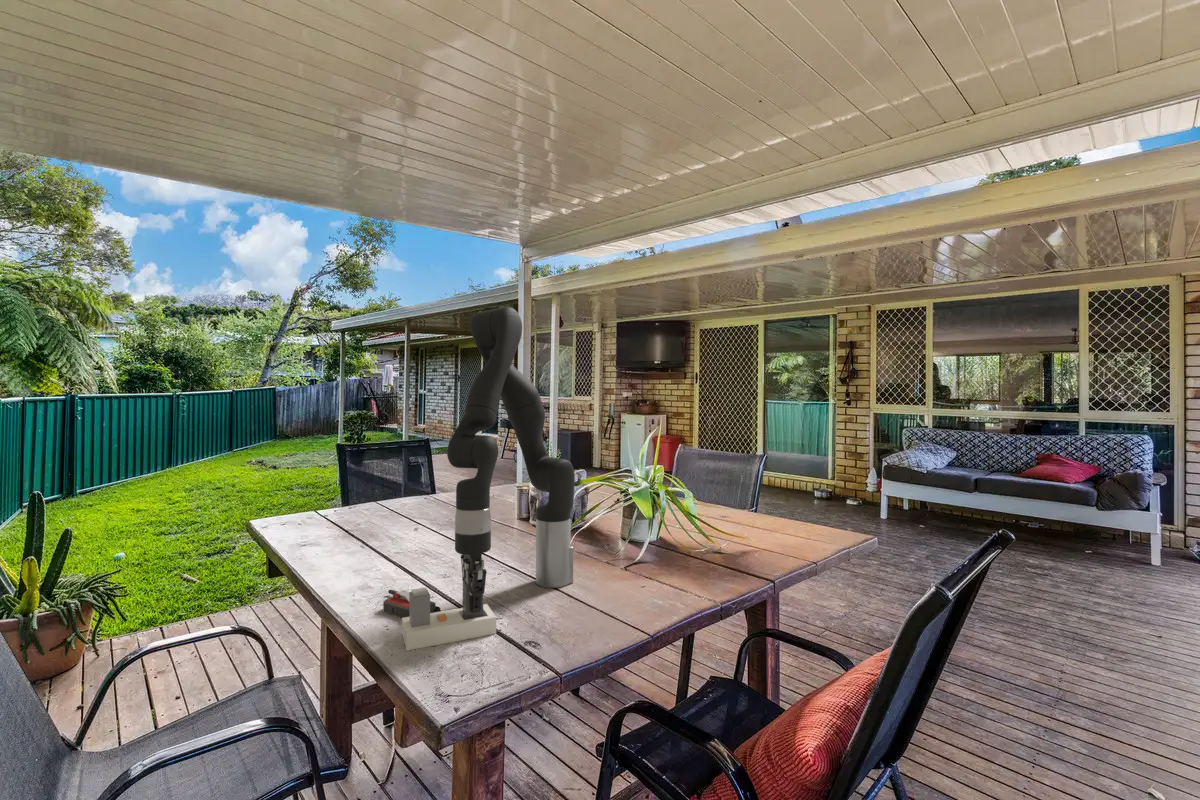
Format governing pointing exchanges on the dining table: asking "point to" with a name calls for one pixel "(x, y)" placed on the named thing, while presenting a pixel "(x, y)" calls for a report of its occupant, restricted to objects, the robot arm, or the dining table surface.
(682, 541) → the dining table surface
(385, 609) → the walkie-talkie
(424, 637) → the power strip
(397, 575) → the dining table surface
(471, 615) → the plug
